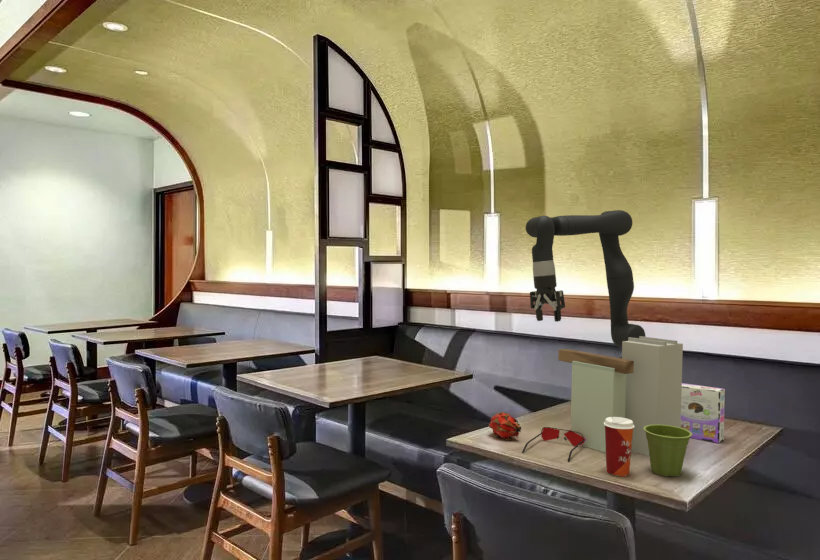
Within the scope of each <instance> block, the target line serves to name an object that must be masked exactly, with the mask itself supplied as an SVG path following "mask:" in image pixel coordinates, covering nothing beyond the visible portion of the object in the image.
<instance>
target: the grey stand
mask: <svg viewBox="0 0 820 560" xmlns="http://www.w3.org/2000/svg"><path fill="white" fill-rule="evenodd" d="M683 348H684V344H683V343H681V342H678V340H675V339H673V340H672V339H666V338H658V337H650V336H649V337H648V336H646V337H642V336H639V338H631V337H629V338H628V341H622V347H621V357H622V359H627V360H632V361H634V373H629V374H626V406H625V418H627V419H630V420H632V421H633V425H634V426H635V427H634V428H633V436H632V448H631V452H633V453H636V454H641V455H643V456H646V457H649V458H650V456H649V448H648V441H647V438H646V432H645V431H644V429H643V428H644V427H645V426H647V425H656V424H658V425H670V426H675V427H680V428H681V394H682V383H683V353H684V350H683Z"/></svg>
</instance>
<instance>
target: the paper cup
mask: <svg viewBox="0 0 820 560" xmlns="http://www.w3.org/2000/svg"><path fill="white" fill-rule="evenodd" d="M604 425H605V444H606V453H605V462H606V464H605V465H606V467H605V468H606V473H607V472H608V474H609V473H610V474H609V475H611V474H613V475H612V476H614V475H619V476H618V477H626V476H625V475H628V474H629V475H630V467H631V456H632V451H631V448H632V436H633V428H634V427H635V426H634V425H633V421H632V420H630V419H627V418H622V417H608V418H606V419H605V422H604ZM629 475H628V476H629Z"/></svg>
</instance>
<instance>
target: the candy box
mask: <svg viewBox="0 0 820 560" xmlns="http://www.w3.org/2000/svg"><path fill="white" fill-rule="evenodd" d="M725 392H726V389H725V388H720V387H715V386H714V387H713V386H712V387H711V386H706V385H705V386H704V385H699V384H693V383H692V384H690V383H683V382H682V394H681V428H683V429H686V430H688V431H690V432H691V433H692V436H691V437H690V438H689V439H695V440H700V441H706V442H710V443H717V444H719V443H721V442H722V440H723V441H724V439H725V402H726V401H725V400H726V399H725V397H726V393H725Z"/></svg>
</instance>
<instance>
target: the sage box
mask: <svg viewBox="0 0 820 560" xmlns="http://www.w3.org/2000/svg"><path fill="white" fill-rule="evenodd" d="M570 394H571V395H570V396H571V397H570V400H571V401H570V403H571V404H570V430H571V431H575V433H576V432H579V433H581V434H582V435H583V437H584V438H585V441H584V444H582V445H583V447H585V448H589V449H592V450H596V451H598V452H602V453H604V454H606V444H605V425H604V422H605V419H606V418H608V417H622V418H625V406H626V374H623V373H618V372H615V368H610V367H604V366H599V365H593V364H588V363H582V362H576V361H572V363H571V393H570ZM579 433H577V434H578V435H580V436H582V435H581V434H579ZM582 445H581V446H582Z"/></svg>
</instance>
